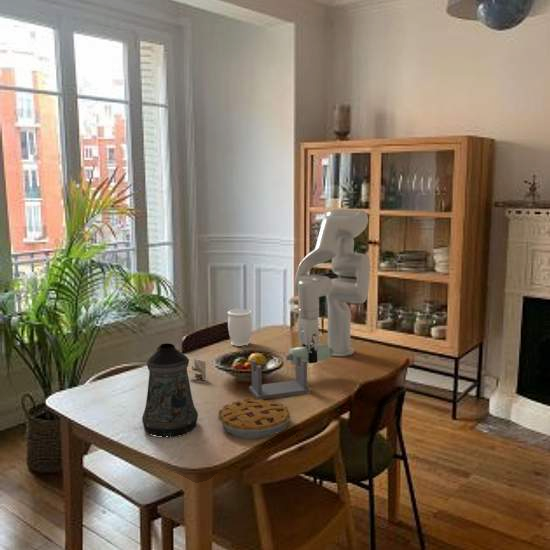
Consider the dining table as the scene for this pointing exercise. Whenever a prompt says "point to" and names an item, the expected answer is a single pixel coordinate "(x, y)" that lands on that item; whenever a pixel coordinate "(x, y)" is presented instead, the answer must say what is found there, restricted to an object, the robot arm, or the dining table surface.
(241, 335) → the jar
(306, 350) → the roll
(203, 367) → the architectural model
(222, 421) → the pie
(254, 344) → the dining table surface
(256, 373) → the roll holder
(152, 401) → the beer stein
